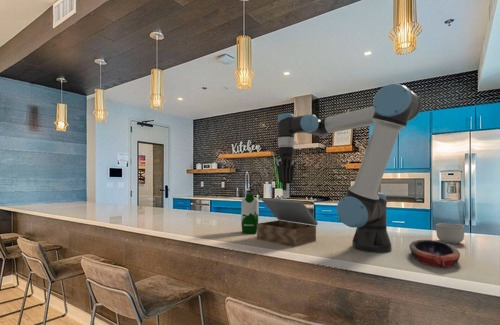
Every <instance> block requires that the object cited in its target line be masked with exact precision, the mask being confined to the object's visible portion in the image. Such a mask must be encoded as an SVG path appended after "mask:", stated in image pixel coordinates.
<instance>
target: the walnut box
mask: <svg viewBox="0 0 500 325" xmlns="http://www.w3.org/2000/svg"><path fill="white" fill-rule="evenodd" d="M256 239H257V240H262V241H267V242H272V243H276V244H281V245H285V246H288V247H289V246H290V247H293V248H294V247H295V248H296V247H299V246H303V245H306V244H311V243H314V242H317V225H311V224H304V223H297V222H290V221H284V220H278V219H277V220H271V221H266V222H265V221H264V222H260V223H259V222H258V224H257V232H256Z"/></svg>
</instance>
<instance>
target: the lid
mask: <svg viewBox="0 0 500 325" xmlns="http://www.w3.org/2000/svg"><path fill="white" fill-rule="evenodd" d="M261 201H262V203H264V205H265V206H266V208H268V210H269V211H270V212H271V213H272V214H273V215H274V216H275V218H276V219H277V220H281V221H288V222H294V223H301V224H308V225H314V226H318V224H319V223H318V221H317V220H316V219H315V217H314V216H313V214H312V213H311V212H310V210H309V209H308V207H307V205H305V204H304V202H303V201H302V200H291V199H280V198H268V197H262V198H261Z"/></svg>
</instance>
